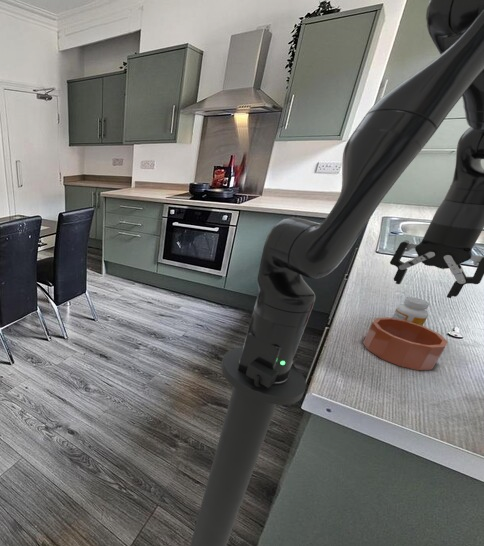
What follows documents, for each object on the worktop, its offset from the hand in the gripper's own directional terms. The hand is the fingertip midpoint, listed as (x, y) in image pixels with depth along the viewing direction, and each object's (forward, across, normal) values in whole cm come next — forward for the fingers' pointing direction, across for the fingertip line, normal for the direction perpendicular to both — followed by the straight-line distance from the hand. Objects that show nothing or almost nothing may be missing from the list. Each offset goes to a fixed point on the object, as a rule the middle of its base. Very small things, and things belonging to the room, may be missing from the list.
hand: (422, 289), depth 73 cm
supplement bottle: (+13, 0, 0) cm, 13 cm away
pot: (+13, +2, -11) cm, 17 cm away
